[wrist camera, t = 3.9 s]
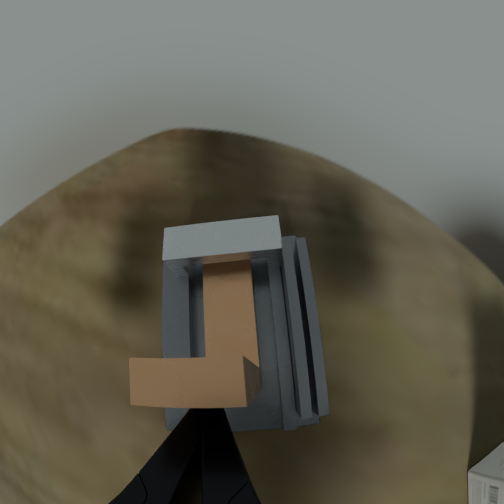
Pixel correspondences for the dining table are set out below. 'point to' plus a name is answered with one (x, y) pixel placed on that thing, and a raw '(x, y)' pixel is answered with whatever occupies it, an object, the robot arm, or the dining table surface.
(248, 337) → the wooden l-shaped block
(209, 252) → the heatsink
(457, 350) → the dining table surface
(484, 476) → the ink cartridge box
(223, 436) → the robot arm
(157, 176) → the dining table surface
